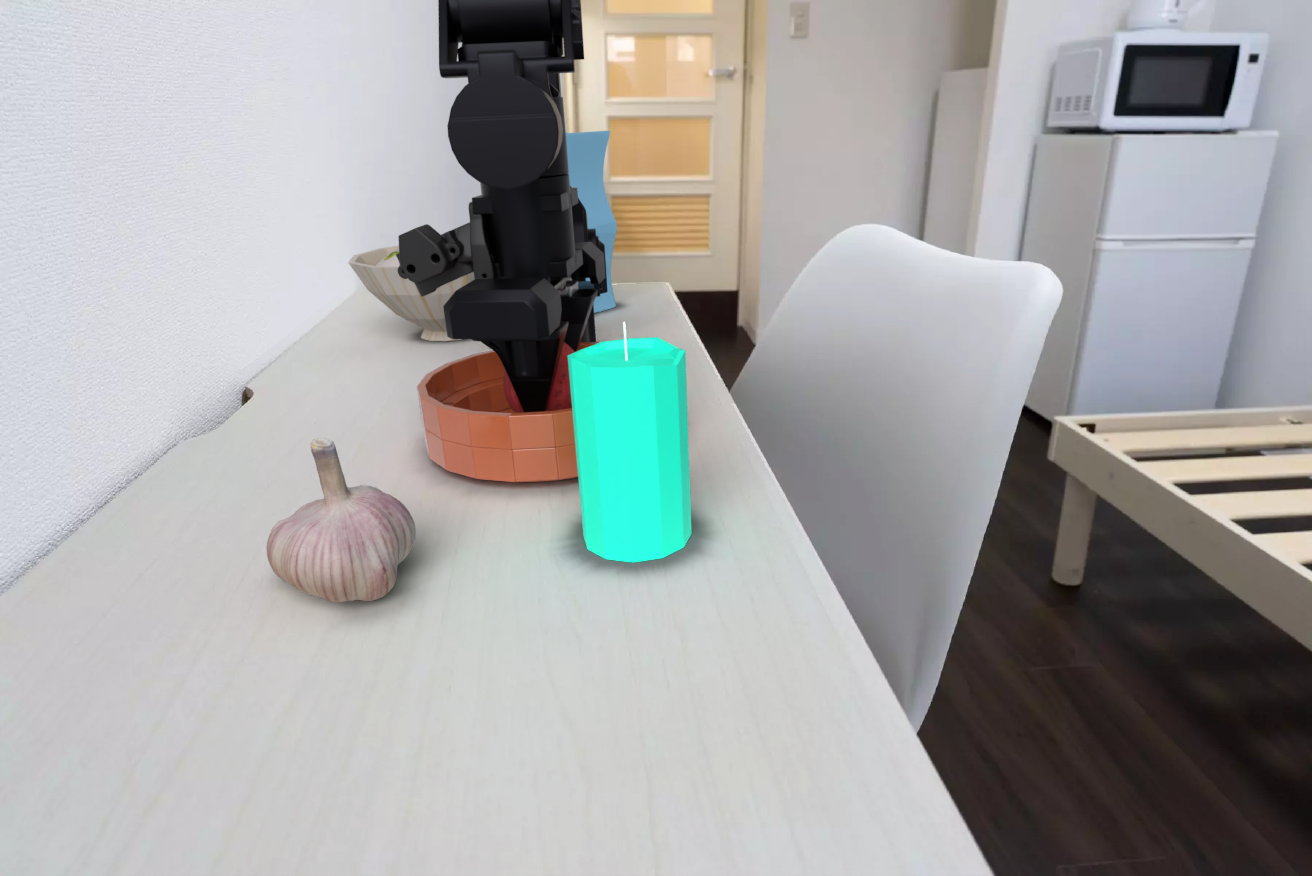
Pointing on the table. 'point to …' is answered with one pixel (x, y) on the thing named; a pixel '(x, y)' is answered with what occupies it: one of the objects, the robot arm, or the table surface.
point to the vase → (593, 196)
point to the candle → (632, 447)
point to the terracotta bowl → (492, 426)
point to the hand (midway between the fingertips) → (547, 405)
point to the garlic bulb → (342, 537)
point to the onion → (560, 388)
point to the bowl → (406, 291)
